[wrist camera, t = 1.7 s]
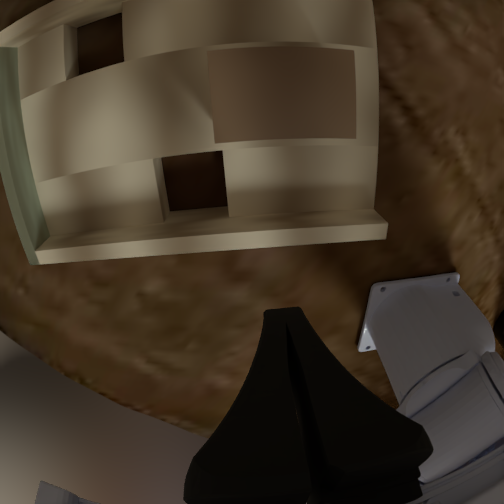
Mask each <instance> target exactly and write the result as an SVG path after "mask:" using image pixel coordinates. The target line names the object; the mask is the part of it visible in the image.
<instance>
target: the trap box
mask: <svg viewBox="0 0 504 504" xmlns="http://www.w3.org/2000/svg"><path fill="white" fill-rule="evenodd" d="M121 12H122V28H123V49H124V62H122V63H118V64H114V65H111V66H108V67H104V68H101V69H98V70H94V71H91V72H88V73H85V74H82V75H80V76H79V64H78V42H77V28H78V27H81V26H83V25H86V24H89V23H91V22H94V21H97V20H100V19H103V18H106V17H109V16H112V15H115V14H118V13H121ZM271 46H295V47H321V48H335V49H346V50H354V54H355V74H356V139H340V138H306V139H273V140H255V141H240V142H228V143H217V144H215V141H214V131H213V120H212V109H211V97H210V85H209V73H208V60H207V51H211V50H220V49H231V48H246V47H271ZM378 139H379V76H378V55H377V40H376V29H375V19H374V10H373V2H372V0H54V1H52V2H50V3H48V4H46V5H44V6H43V7H41V8H39V9H37V10H35V11H33V12H32V13H30V14H28V15H26V16H25V17H23V18H21V19H20V20H18V21H16V22H15V23H13V24H12V25H10V26H8V27H7V28H5V29H4V30H2V31H1V32H0V171H1V176H2V180H3V184H4V188H5V191H6V195H7V199H8V202H9V206H10V209H11V212H12V216H13V219H14V222H15V225H16V228H17V231H18V234H19V236H20V239H21V242H22V245H23V247H24V250H25V253H26V255H27V258H28V260H29V263H30V265H38V264H50V263H63V262H76V261H89V260H102V259H115V258H128V257H142V256H155V255H168V254H182V253H195V252H209V251H223V250H237V249H251V248H265V247H279V246H293V245H307V244H321V243H336V242H350V241H365V240H380V239H386V235H387V229H388V223H387V222H386V221H385V220H384V219H383V218H382V217H381V216H380V215H379V214H378V213H377V212H376V211H375V210H374V201H375V190H376V177H377V161H378ZM219 150H223V160H224V171H225V181H226V191H227V201H228V206H225V207H213V208H201V209H191V210H180V211H170V209H169V203H168V197H167V192H166V186H165V179H164V173H163V167H162V160H161V157H168V156H175V155H183V154H191V153H200V152H209V151H219Z"/></svg>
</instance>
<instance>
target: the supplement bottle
mask: <svg viewBox="0 0 504 504" xmlns="http://www.w3.org/2000/svg"><path fill="white" fill-rule="evenodd" d="M494 335H495V337H496V339H497V340H498V341H499V343H500V344H501V346H502V347H503V349H504V310H503V312H502V313H501V314H500V316H499V318H498V319H497V321H496V324H495V327H494Z"/></svg>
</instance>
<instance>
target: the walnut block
mask: <svg viewBox="0 0 504 504" xmlns="http://www.w3.org/2000/svg"><path fill="white" fill-rule="evenodd" d="M207 60H208V73H209V85H210V97H211V109H212V120H213V131H214V141H215V144H217V143H228V142H240V141H255V140H273V139H306V138H340V139H356V74H355V54H354V50H346V49H335V48H321V47H295V46H271V47H246V48H231V49H220V50H211V51H207Z"/></svg>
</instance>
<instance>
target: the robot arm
mask: <svg viewBox="0 0 504 504" xmlns="http://www.w3.org/2000/svg"><path fill="white" fill-rule="evenodd" d="M459 278H460V275H459V274H458V273H457V272H454V273H448V274H441V275H434V276H426V277H419V278H411V279H404V280H396V281H387V282H379V283H375V284H373V285H372V287H371V290H370V295H369V300H368V304H367V309H366V313H365V318H364V322H363V326H362V331H361V335H360V339H359V343H358V346H357V348H358V351H359V352H364V351H370V350H375V349H377V352H378V354H379V356H380V359H381V361H382V363H383V366H384V368H385V371H386V373H387V376H388V378H389V380H390V383H391V385H392V388H393V390H394V393H395V395H396V398H397V401H398V403H399V407H398V408H397V409H396V410H395V409H394V408H392V407H391V406H389V405H388V404H386V403H385V402H383V401H382V400H381V399H380V398H378V397H377V396H376V395H374V394H373V393H372V392H371V391H369V390H368V389H367V388H366V387H364V386H363V385H362V384H361V383H360V382H359V381H358V380H357V379H356V378H355V377H354V376H352V375H351V374H350V373H349V372H348V371H347V370H346V369H345V367H344V366H343V365H342V364H341V363H340V362H339V361H338V360H337V359H336V357H335V356H334V355H333V354H332V353H331V352H330V350H329V349H328V348H327V347H326V345H325V344H324V343H323V341H322V340H321V339H320V337H319V336H318V335H317V333H316V332H315V330H314V329H313V327H312V326H311V324H310V323H309V321H308V320H307V318H306V316H305V315H304V313H303V311H302V309H301V308H300V307H290V308H280V309H269V310H266V311H265V312H264V320H263V328H262V333H261V337H260V341H259V344H258V348H257V351H256V354H255V357H254V360H253V362H252V365H251V368H250V370H249V373H248V375H247V377H246V380H245V382H244V384H243V386H242V388H241V390H240V392H239V394H238V396H237V397H236V399H235V401H234V403H233V405H232V406H231V408H230V410H229V411H228V413H227V414H226V416H225V417H224V419H223V420H222V422H221V423H220V425H219V426H218V427H217V429H216V430H215V432H214V433H213V434H212V436H211V437H210V438H209V439H208V441H207V442H206V443H205V444H204V445H203V447H202V448H201V449H200V450H199V451H198V453H197V454H196V455H195V456H194V457H193V459H192V462H191V464H190V467H189V469H188V472H187V475H186V479H185V484H184V497H183V499H184V501H185V502H186V503H187V504H306V502H307V504H421V503H422V504H504V361H503V359H502V358H501V357H500V355H499V354H498V353H497V352H495V339H494V334H493V330H492V327H491V325H490V323H489V322H488V320H487V319H486V317H485V316H484V315H483V314H482V312H481V311H480V310H479V309H478V307H477V306H476V305H475V304H474V302H473V301H472V300H471V299H470V298H469V296H468V295H467V294H466V293H465V292H464V290H463V289H462V288H461V287H460V286H459V285H458V281H459ZM382 287H384V288H383V289H381V288H382ZM296 412H297V414H296ZM297 417H298V418H297ZM298 422H299V423H298ZM35 504H99V503H95V502H92V501H89V500H86V499H83V498H79V497H78V496H77V495H75V494H73V493H71V492H69V491H67V490H65V489H62V488H60V487H57V486H54V485H52V484H49V483H47V482H44V481H40V484H39V488H38V492H37V496H36V500H35Z"/></svg>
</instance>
